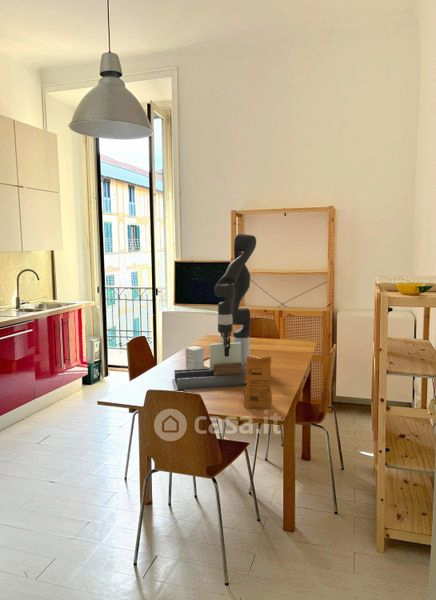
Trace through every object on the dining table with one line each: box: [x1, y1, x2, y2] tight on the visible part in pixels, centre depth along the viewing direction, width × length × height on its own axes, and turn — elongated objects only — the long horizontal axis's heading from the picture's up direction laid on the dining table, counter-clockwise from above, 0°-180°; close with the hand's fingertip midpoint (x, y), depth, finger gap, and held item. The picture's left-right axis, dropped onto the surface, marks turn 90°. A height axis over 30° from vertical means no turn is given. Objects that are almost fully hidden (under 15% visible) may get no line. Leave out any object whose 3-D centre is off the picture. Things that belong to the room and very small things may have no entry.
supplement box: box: [185, 345, 205, 369], centre depth 265 cm, size 7×7×13 cm
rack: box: [171, 366, 246, 392], centre depth 239 cm, size 19×38×6 cm, turn 100°
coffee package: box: [242, 356, 273, 410], centre depth 209 cm, size 10×12×22 cm
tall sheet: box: [209, 342, 241, 370], centre depth 245 cm, size 2×16×18 cm, turn 100°
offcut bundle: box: [213, 362, 243, 376], centre depth 238 cm, size 6×14×9 cm, turn 100°
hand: (225, 354), depth 244 cm, fingers open, 6 cm apart
